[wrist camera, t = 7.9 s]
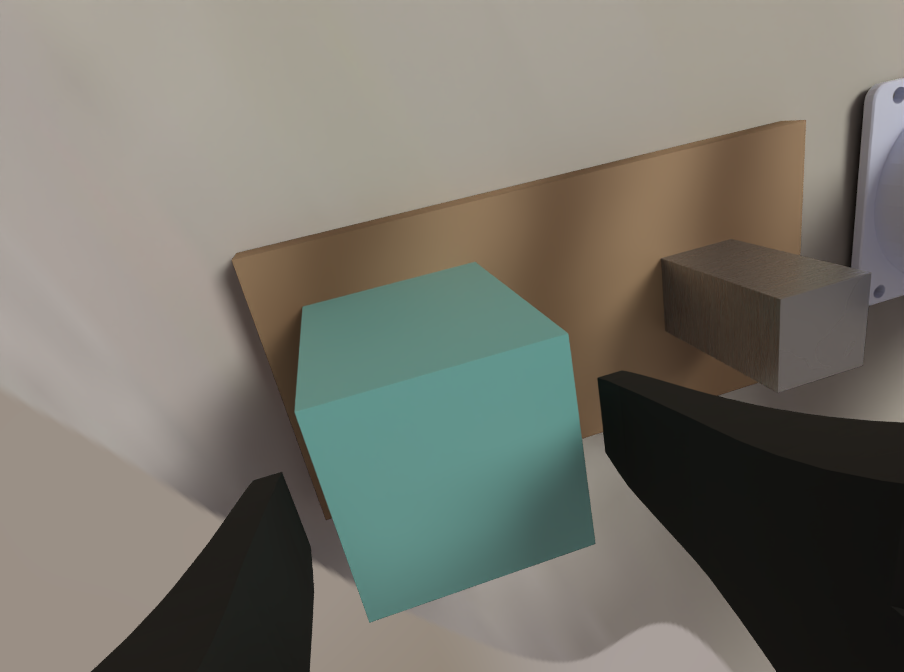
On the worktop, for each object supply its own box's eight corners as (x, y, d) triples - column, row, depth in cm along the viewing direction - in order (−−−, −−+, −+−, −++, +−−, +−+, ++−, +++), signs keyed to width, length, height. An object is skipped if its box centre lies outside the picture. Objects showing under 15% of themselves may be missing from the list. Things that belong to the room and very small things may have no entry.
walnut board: (781, 121, 18) (805, 120, 17) (774, 361, 22) (795, 370, 21) (236, 253, 16) (231, 260, 15) (325, 501, 19) (325, 519, 18)
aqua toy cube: (475, 261, 16) (568, 333, 10) (503, 410, 18) (595, 543, 12) (302, 306, 16) (294, 411, 10) (350, 456, 18) (369, 622, 12)
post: (731, 238, 18) (871, 272, 14) (731, 311, 19) (862, 365, 15) (660, 258, 18) (780, 299, 13) (665, 331, 19) (777, 393, 14)
